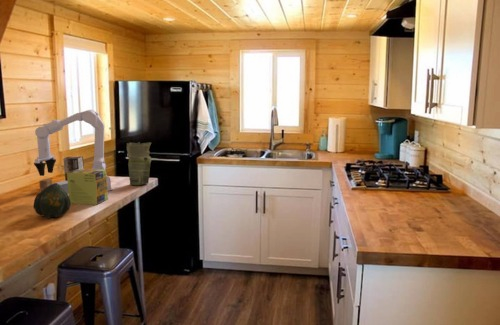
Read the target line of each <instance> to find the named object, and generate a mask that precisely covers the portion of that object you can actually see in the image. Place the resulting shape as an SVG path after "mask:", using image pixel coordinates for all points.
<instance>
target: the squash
mask: <svg viewBox="0 0 500 325" xmlns="http://www.w3.org/2000/svg"><path fill="white" fill-rule="evenodd" d="M71 204H72V203H71V202H70V198H69V194H68V193H66V192H65V191H64V190H63V189H62V188H61V187H60V185H58V184H57V183H56V182H54V183H52V184H51V185H49V186H48V187H46V188H45V189H43V190H42V191H41V192H40V191H39V192H38V193H37V194H36V196H35V198H34V200H33V209H34V210H35V213H36V214H37V215H39V216H42V217H43V218H44V219H49V220H50V219H51V218H55V219H56V218H58V217H60V216H62V215H65V214H66V213H67V212H68V211H69V210H70V208H71Z"/></svg>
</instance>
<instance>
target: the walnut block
mask: <svg viewBox="0 0 500 325" xmlns="http://www.w3.org/2000/svg"><path fill="white" fill-rule="evenodd" d="M38 182H39V193H40V192H41V191H42V190H43V189H45V188H46V187H48V186H49V185H51V184H53V179H50V178H49V179H48V178H44V179H41V180H39V181H38Z"/></svg>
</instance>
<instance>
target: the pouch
mask: <svg viewBox="0 0 500 325" xmlns="http://www.w3.org/2000/svg"><path fill="white" fill-rule="evenodd" d="M151 144H152V142H150V141H148V142H143V143H141V142H140V141H138V142H127V143H126V151H127V157H128V163H127V165H128V177H129V178H128V179H129V185H132V186H142V185H146V184H147V185H149V182H150V170H151V169H150V168H151V162H152V156H150V153H151V151H150V147H151Z"/></svg>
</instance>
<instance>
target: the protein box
mask: <svg viewBox="0 0 500 325" xmlns="http://www.w3.org/2000/svg"><path fill="white" fill-rule="evenodd" d="M106 174H107V169H105V170H100V169H92V168H84V169H77V170H74V171H71V172H67V181H68V193H67V194H68V196H69V198H70V202H71V204H76V205H77V204H78V205H95V206H99V205H100V204H101V203H104V202H105V201H107V200H109V195H108V194H109V193H108V192H109V191H107V176H108V175H107V176H106Z"/></svg>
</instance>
